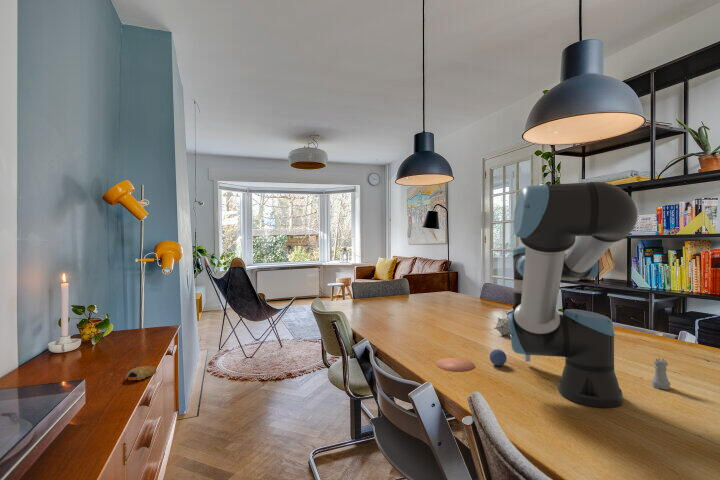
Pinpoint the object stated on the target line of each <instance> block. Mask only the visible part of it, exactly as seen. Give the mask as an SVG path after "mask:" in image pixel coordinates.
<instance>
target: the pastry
mask: <svg viewBox="0 0 720 480" xmlns="http://www.w3.org/2000/svg"><path fill="white" fill-rule="evenodd" d="M156 372H157V367H156V366H152V365H142V366H137V367H134V368H132V369H130V370H128V372H127V374H125V377H137V378H146V377H148V376H151V375H152V376H154V375H155V374H157V373H156ZM152 376H151V377H152ZM146 379H147V378H146Z"/></svg>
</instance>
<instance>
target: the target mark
mask: <svg viewBox="0 0 720 480" xmlns="http://www.w3.org/2000/svg"><path fill="white" fill-rule="evenodd" d="M436 366H437V367H438V368H439V369H442V370H446V371H451V372H467V371H471V370H473V369H474V368H475V367H476V366H475V363H474V362H472V361H470V360H468V359H466V358H465V359H464V358H458V357H445V358H441V359H438V360H437V361H436Z"/></svg>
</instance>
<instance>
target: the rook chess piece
mask: <svg viewBox="0 0 720 480" xmlns="http://www.w3.org/2000/svg"><path fill="white" fill-rule="evenodd" d="M653 363H654V365H655V366H654V369H655V371H654V376H653V378H652V379H651V386H652V387H653V386H654V387H653V388H655V387H656V388H655V389H657V388H661V389H660V390H662V389H669V390H671V382H670V381H669V379H668V375H667V370H668V369H667V366H668V365H669V364H668V363H667V359H663V358H659V357H658V358H655V359H654V361H653Z"/></svg>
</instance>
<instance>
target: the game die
mask: <svg viewBox="0 0 720 480" xmlns="http://www.w3.org/2000/svg"><path fill="white" fill-rule="evenodd" d="M497 319H498V321H497V323H496V326H495V327H493V329H495V330H497V331H498V332H499V333H500V334H501V335H502V337H504V336H507V335H510V329H509V321H508V316H506V317H505V318H500V317H498V318H497Z"/></svg>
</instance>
